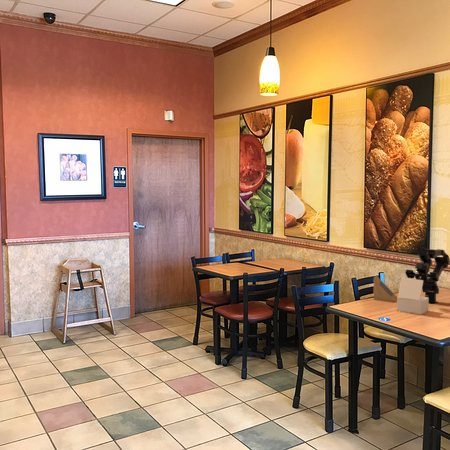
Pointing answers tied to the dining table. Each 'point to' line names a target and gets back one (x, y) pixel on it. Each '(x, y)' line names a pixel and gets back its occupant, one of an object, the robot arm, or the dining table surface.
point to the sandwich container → (383, 291)
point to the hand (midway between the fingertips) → (417, 286)
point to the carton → (413, 305)
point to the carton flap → (410, 289)
